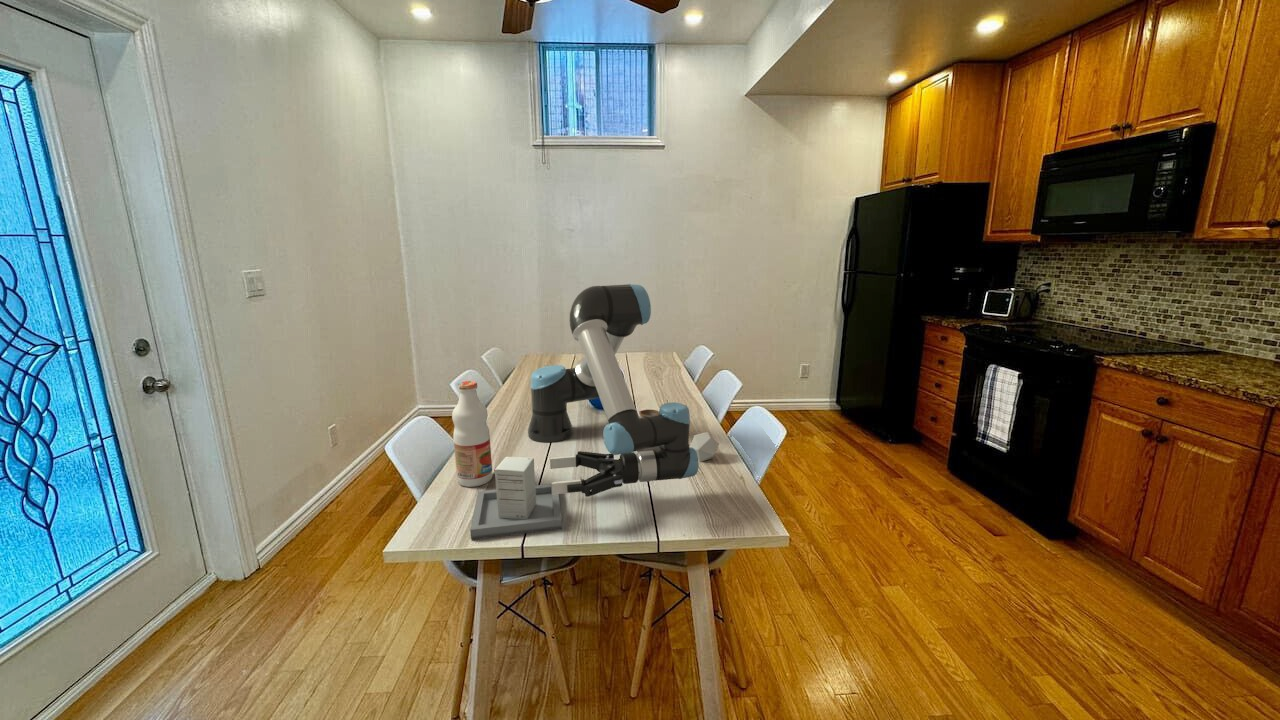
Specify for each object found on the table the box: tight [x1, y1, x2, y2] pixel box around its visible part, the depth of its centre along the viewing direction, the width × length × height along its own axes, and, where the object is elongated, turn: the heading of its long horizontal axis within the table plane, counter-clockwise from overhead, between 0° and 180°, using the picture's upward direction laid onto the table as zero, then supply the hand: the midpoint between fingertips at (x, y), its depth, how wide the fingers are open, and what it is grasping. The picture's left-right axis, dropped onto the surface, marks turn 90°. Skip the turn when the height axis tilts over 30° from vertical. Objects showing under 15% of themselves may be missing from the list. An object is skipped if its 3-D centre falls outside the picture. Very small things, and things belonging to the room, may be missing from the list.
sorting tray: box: [469, 483, 563, 541], centre depth 121 cm, size 18×20×2 cm
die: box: [689, 431, 720, 463], centre depth 152 cm, size 8×9×10 cm
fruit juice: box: [451, 380, 493, 488], centre depth 135 cm, size 9×9×28 cm
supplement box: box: [494, 456, 537, 519], centre depth 119 cm, size 7×7×13 cm
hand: (550, 475), depth 120 cm, fingers open, 13 cm apart
